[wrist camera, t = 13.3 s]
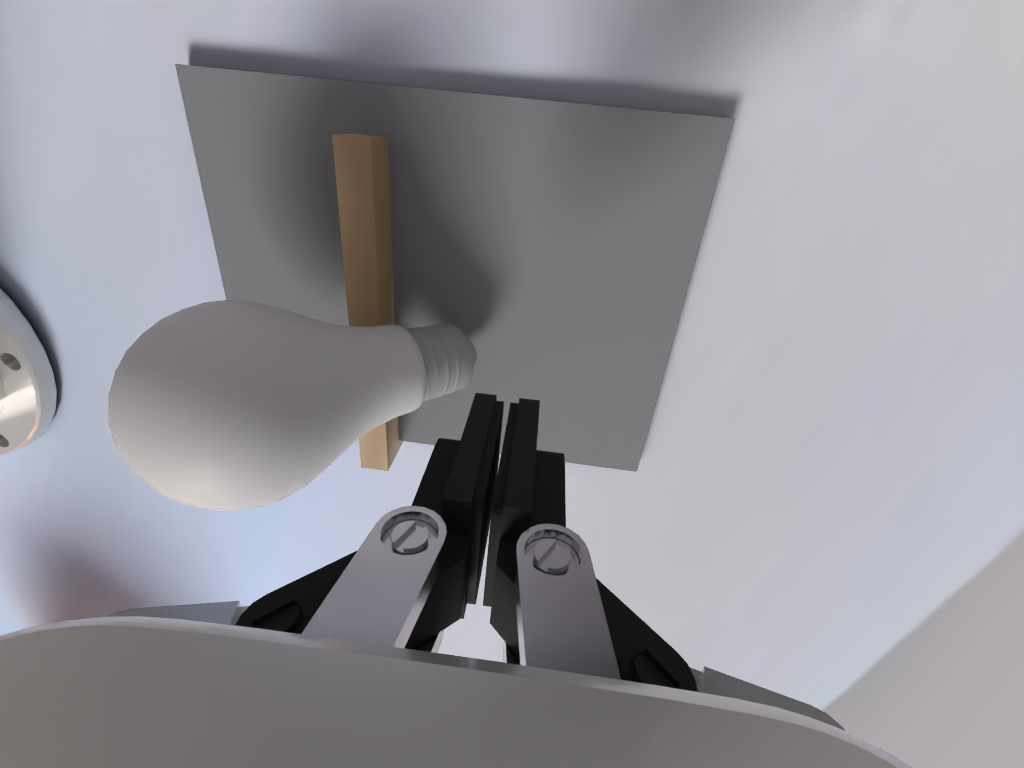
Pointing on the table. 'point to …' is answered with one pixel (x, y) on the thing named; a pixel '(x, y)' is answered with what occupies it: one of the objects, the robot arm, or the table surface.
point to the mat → (475, 234)
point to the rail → (367, 258)
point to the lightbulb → (267, 397)
